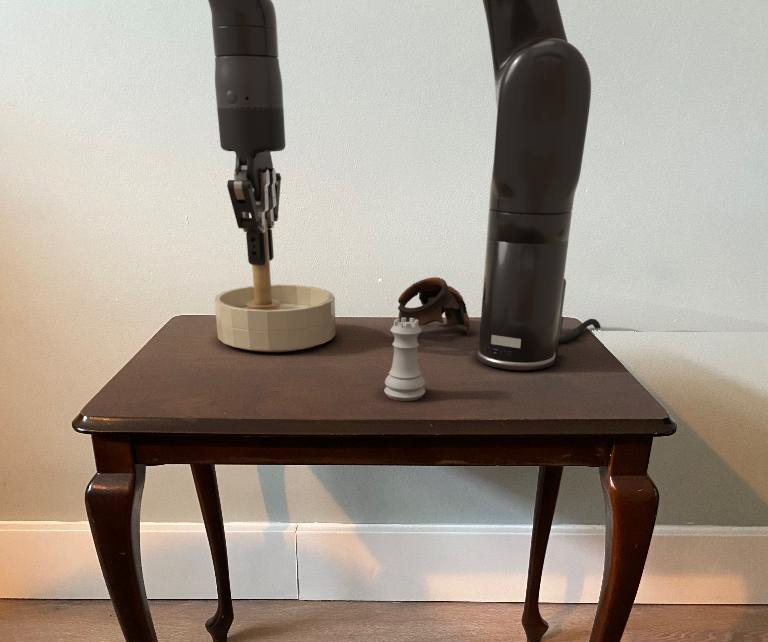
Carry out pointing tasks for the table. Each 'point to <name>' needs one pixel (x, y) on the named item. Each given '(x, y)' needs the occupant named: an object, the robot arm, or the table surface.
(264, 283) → the muddler
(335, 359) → the table surface
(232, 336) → the bowl
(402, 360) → the rook chess piece
